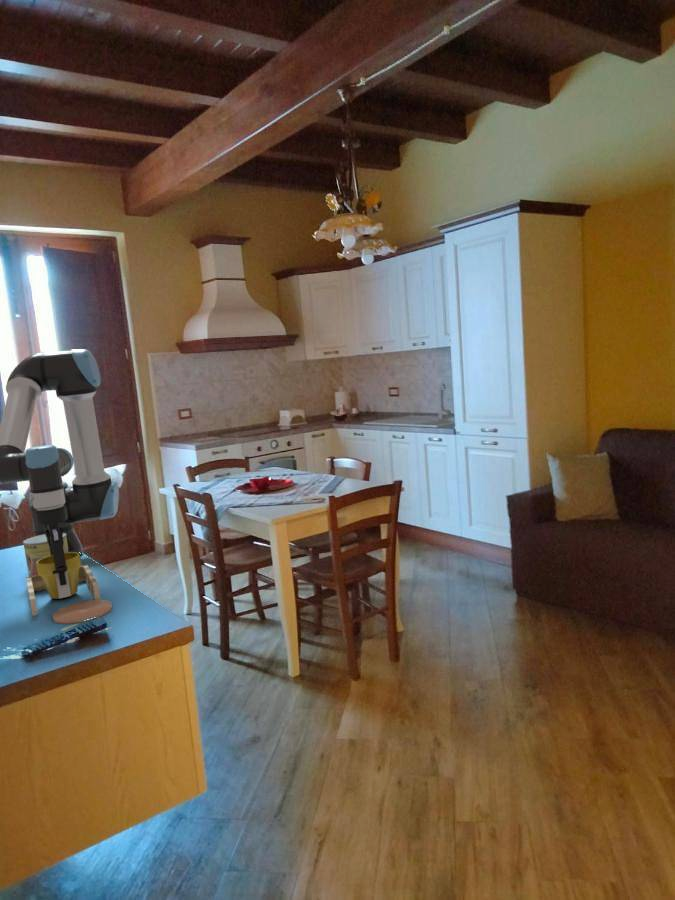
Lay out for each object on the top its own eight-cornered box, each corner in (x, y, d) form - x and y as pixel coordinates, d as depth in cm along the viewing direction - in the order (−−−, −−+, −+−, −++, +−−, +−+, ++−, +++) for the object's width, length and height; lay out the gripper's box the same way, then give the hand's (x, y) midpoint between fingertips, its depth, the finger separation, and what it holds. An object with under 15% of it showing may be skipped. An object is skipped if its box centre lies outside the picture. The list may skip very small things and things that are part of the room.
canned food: (25, 580, 188) (18, 539, 186) (66, 570, 194) (60, 530, 193) (34, 588, 179) (28, 545, 177) (77, 577, 185) (71, 536, 184)
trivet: (62, 607, 161) (61, 604, 161) (116, 599, 162) (116, 596, 162) (46, 627, 148) (45, 623, 148) (105, 619, 150) (105, 615, 149)
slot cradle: (28, 591, 176) (25, 577, 176) (89, 578, 183) (87, 564, 183) (32, 615, 157) (29, 599, 156) (100, 599, 164) (98, 584, 163)
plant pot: (42, 593, 172) (36, 556, 171) (84, 584, 176) (78, 549, 174) (41, 604, 162) (35, 566, 161) (85, 595, 166) (80, 558, 165)
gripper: (31, 502, 174) (44, 583, 177) (36, 517, 154) (50, 607, 157) (61, 497, 178) (73, 576, 181) (70, 511, 158) (83, 599, 161)
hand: (63, 591), depth 169 cm, fingers closed on plant pot, 10 cm apart
